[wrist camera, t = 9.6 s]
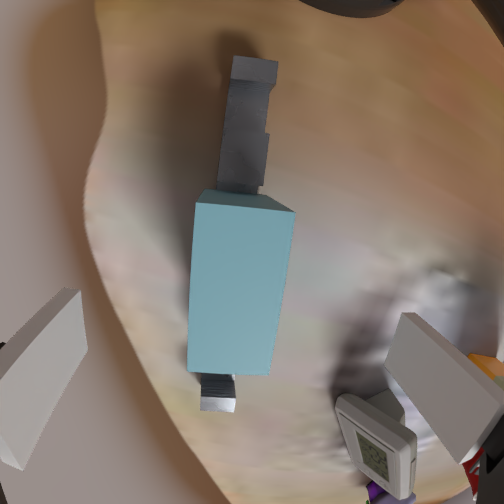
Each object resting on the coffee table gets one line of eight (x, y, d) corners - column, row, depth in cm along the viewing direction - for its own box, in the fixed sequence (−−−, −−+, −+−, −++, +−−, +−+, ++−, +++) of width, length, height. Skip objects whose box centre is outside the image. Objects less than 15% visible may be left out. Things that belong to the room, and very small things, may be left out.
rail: (231, 70, 21) (233, 55, 17) (270, 75, 21) (278, 61, 18) (201, 386, 28) (200, 410, 24) (231, 387, 28) (234, 412, 25)
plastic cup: (456, 450, 40) (484, 488, 29) (493, 425, 41) (522, 458, 29) (445, 474, 43) (468, 509, 32) (480, 452, 44) (504, 482, 32)
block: (204, 188, 22) (195, 202, 13) (265, 194, 23) (295, 212, 14) (195, 302, 24) (187, 371, 16) (251, 307, 25) (268, 375, 16)
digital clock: (331, 388, 30) (368, 462, 20) (404, 364, 30) (453, 422, 20) (331, 465, 34) (353, 523, 24) (389, 445, 35) (418, 496, 25)
